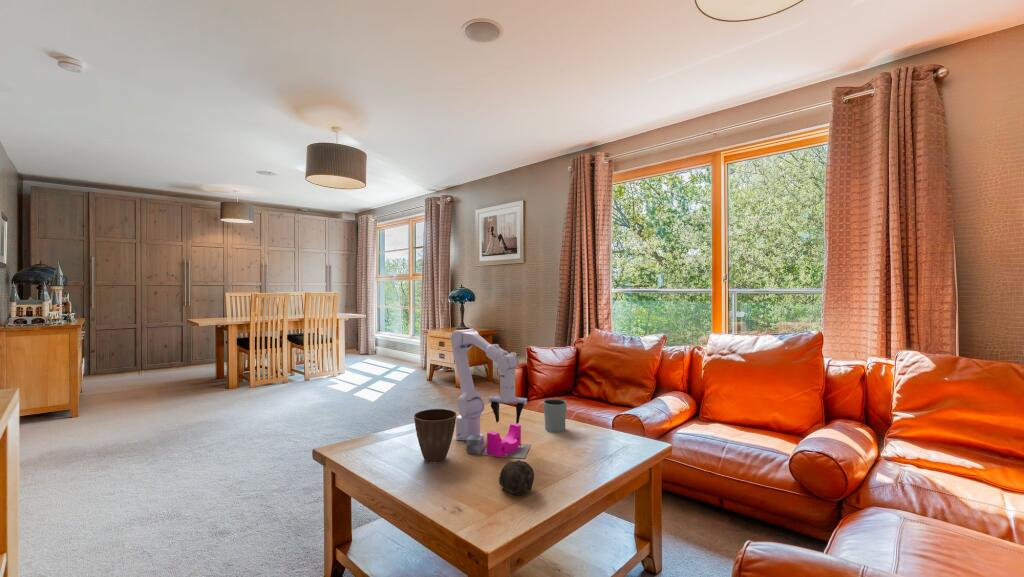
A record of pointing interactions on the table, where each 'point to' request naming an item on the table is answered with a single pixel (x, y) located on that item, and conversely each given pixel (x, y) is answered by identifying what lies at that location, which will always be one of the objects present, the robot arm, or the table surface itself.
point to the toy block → (504, 441)
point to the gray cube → (474, 444)
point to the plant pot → (435, 433)
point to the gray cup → (554, 415)
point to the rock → (517, 477)
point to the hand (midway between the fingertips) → (507, 422)
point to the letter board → (514, 452)
